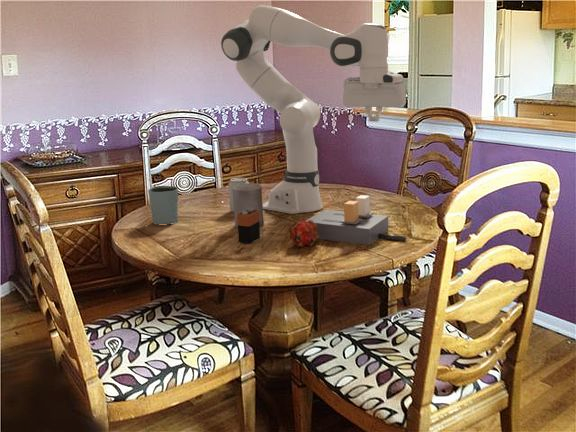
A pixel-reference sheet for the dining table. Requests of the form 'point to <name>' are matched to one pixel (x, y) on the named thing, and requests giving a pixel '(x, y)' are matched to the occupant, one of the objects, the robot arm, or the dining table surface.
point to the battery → (248, 226)
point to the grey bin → (164, 204)
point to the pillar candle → (248, 199)
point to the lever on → (364, 206)
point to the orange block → (351, 213)
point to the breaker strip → (352, 228)
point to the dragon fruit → (304, 233)
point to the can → (233, 182)
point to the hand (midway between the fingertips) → (373, 121)
